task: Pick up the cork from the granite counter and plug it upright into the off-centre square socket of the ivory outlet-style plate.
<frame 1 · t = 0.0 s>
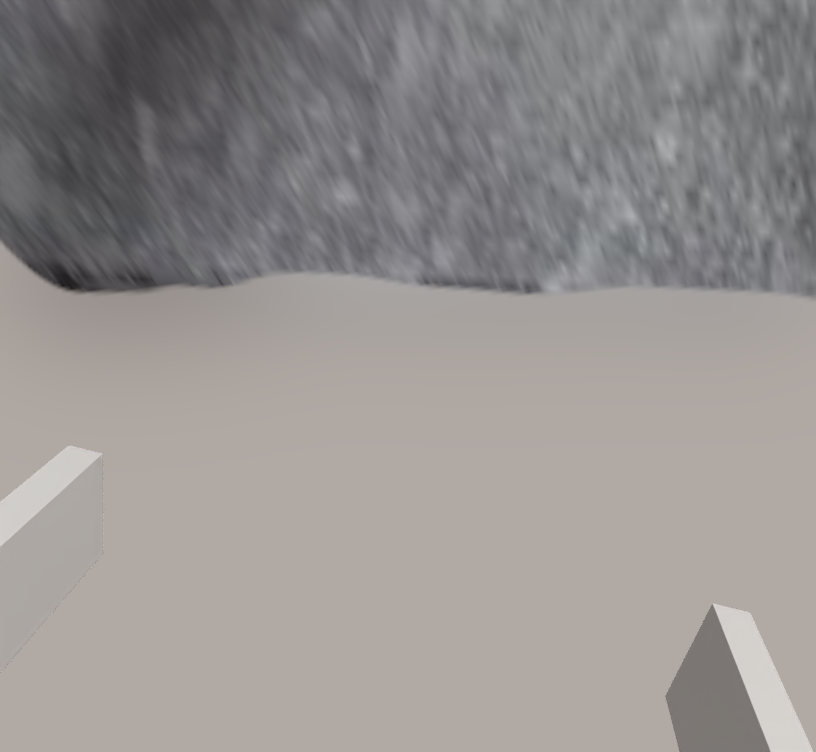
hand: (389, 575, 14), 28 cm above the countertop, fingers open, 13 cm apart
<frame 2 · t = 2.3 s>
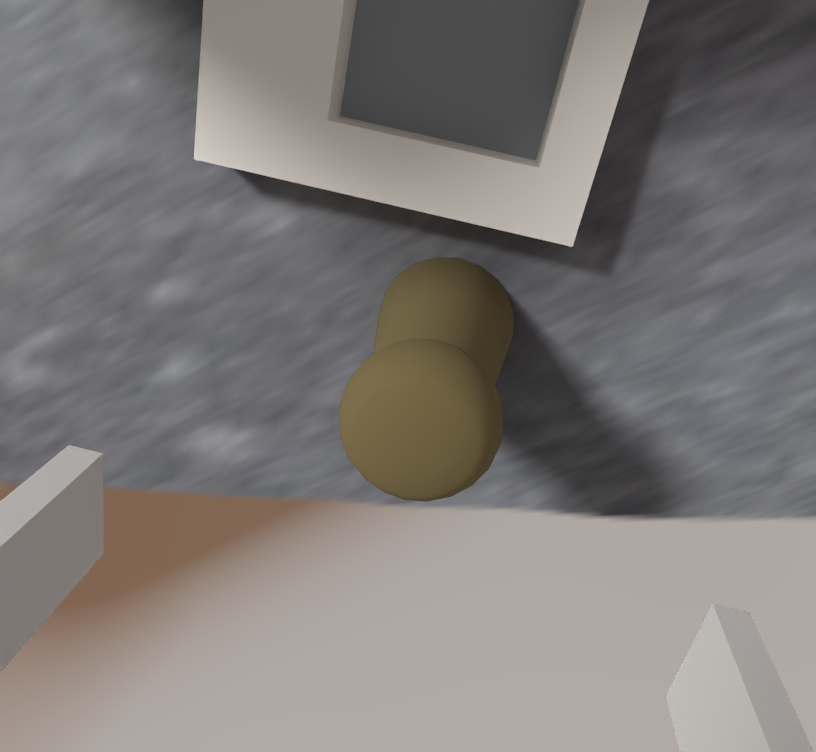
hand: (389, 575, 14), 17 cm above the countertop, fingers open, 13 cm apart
socket plate: (422, 19, 25), on the countertop
cork: (446, 322, 30), on the countertop
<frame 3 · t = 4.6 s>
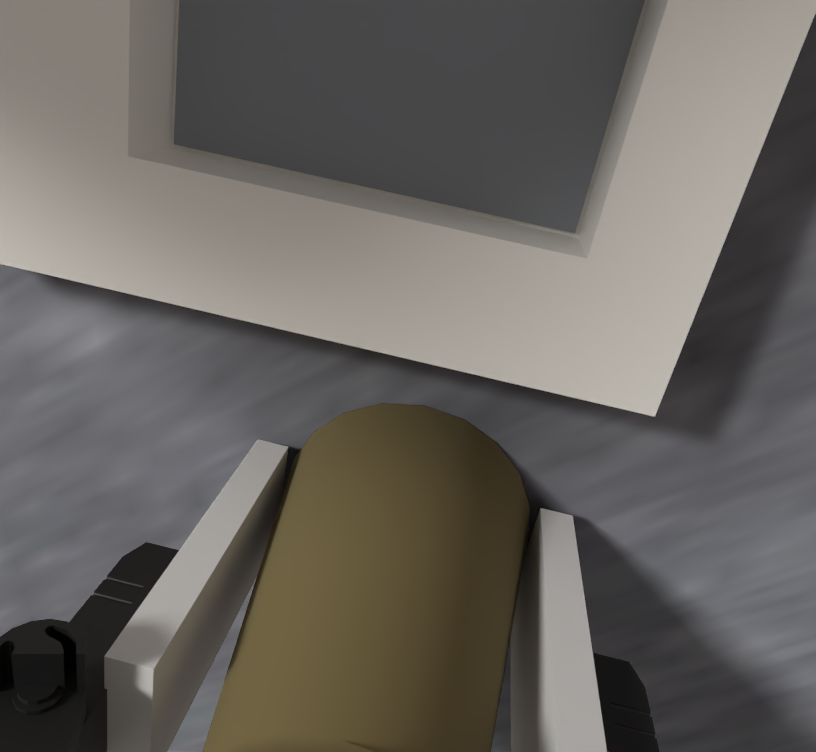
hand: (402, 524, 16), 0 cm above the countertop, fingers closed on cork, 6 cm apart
cork: (405, 509, 16), on the countertop, touching gripper
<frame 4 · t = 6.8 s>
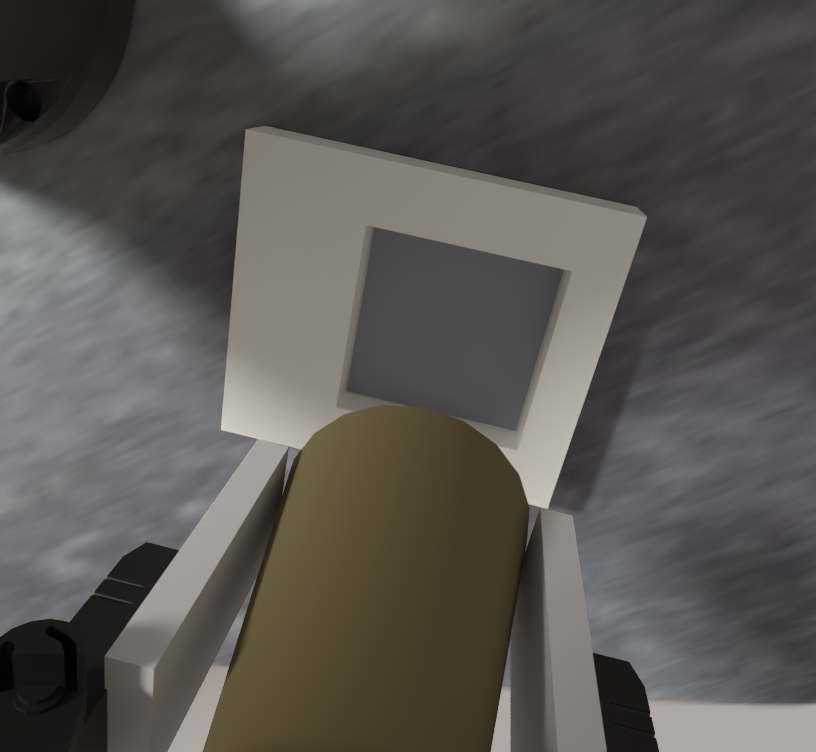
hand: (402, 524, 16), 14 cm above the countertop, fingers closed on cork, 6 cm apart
socket plate: (416, 318, 29), on the countertop
cork: (405, 510, 16), point 14 cm above the countertop, touching gripper
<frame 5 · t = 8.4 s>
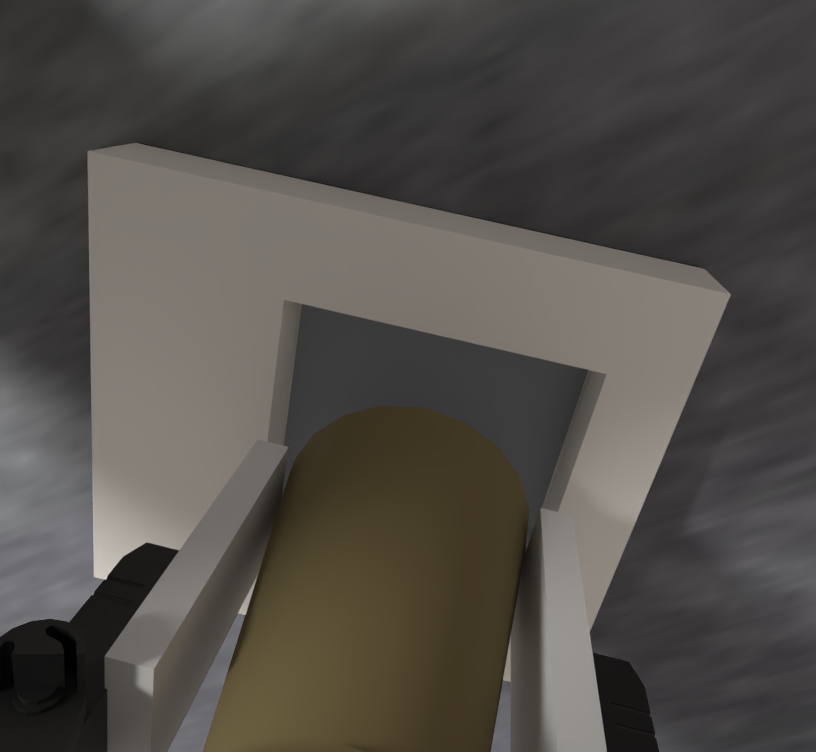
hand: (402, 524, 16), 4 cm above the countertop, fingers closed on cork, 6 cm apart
socket plate: (372, 421, 20), on the countertop
cork: (405, 511, 16), point 4 cm above the countertop, touching gripper
when the fingers open (3 cm above the countertop, at t = 9.5 s): cork drops 2 cm, resting on socket plate.
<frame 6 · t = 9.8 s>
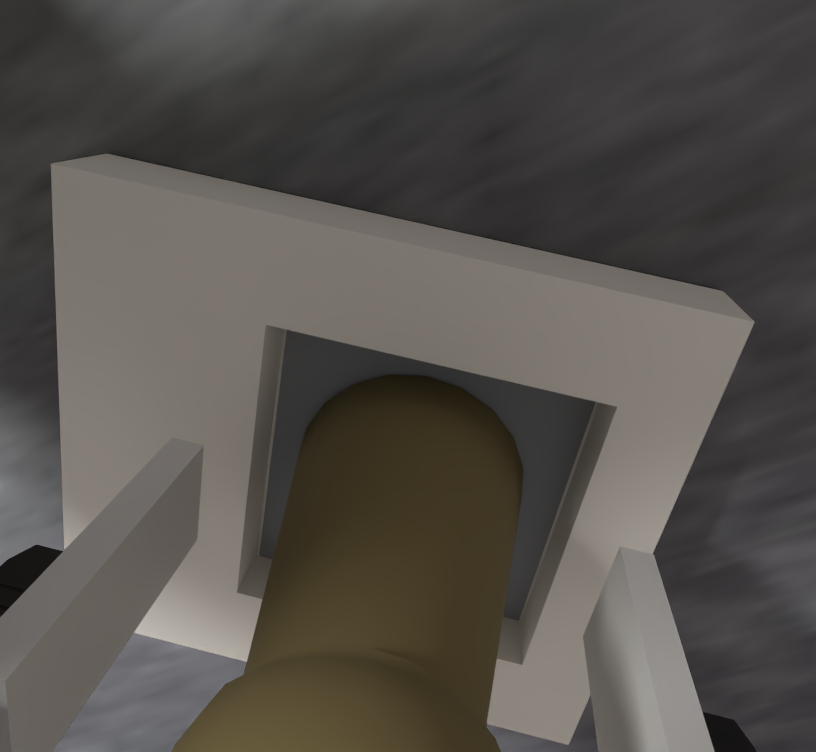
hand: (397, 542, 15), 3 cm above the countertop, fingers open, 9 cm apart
socket plate: (364, 451, 19), on the countertop
cork: (409, 473, 18), point 1 cm above the countertop, touching socket plate
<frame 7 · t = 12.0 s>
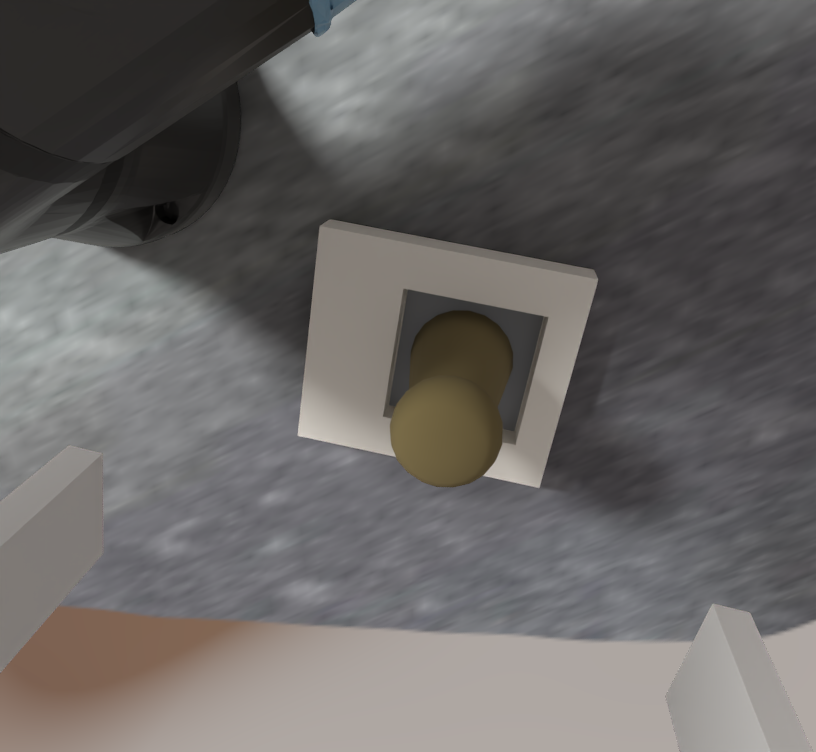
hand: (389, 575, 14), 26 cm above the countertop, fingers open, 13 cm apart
socket plate: (439, 350, 40), on the countertop
cork: (461, 358, 39), point 1 cm above the countertop, touching socket plate
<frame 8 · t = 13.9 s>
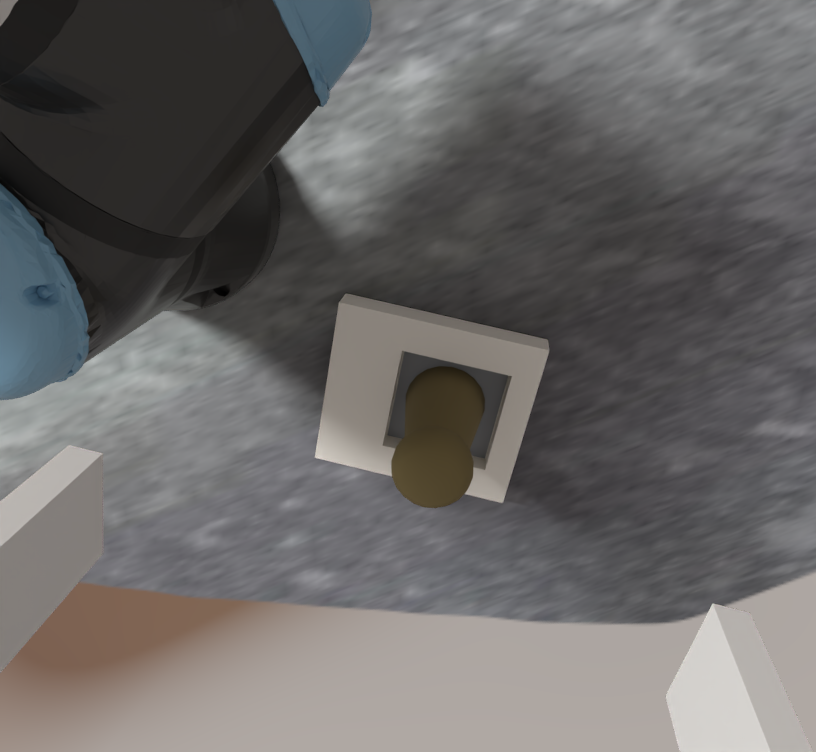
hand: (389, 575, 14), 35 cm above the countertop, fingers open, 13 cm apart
socket plate: (428, 394, 51), on the countertop
cork: (445, 401, 50), point 1 cm above the countertop, touching socket plate
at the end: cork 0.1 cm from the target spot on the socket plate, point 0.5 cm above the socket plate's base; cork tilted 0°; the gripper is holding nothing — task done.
